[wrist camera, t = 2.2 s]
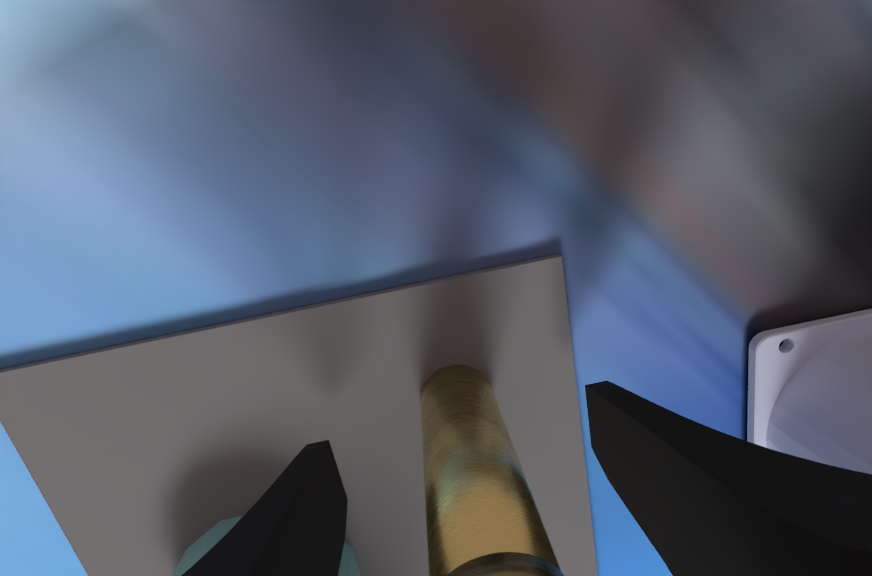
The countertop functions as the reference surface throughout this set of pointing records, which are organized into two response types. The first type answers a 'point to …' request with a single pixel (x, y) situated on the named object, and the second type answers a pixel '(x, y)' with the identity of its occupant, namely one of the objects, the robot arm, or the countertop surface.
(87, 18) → the countertop surface
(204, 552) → the bead
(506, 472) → the brass cylinder rod
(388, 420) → the mat
